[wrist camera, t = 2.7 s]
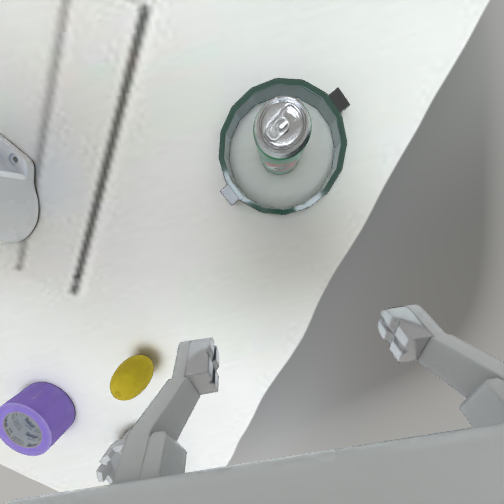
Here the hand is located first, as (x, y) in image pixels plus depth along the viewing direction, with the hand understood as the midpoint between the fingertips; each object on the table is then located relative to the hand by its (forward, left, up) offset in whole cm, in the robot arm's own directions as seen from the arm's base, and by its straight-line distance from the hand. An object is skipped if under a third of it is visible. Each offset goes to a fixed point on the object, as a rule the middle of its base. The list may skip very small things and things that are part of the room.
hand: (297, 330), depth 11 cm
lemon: (+2, -32, -23) cm, 39 cm away
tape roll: (-2, -58, -23) cm, 62 cm away
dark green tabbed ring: (-10, +7, -22) cm, 26 cm away
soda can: (-10, +7, -23) cm, 26 cm away
